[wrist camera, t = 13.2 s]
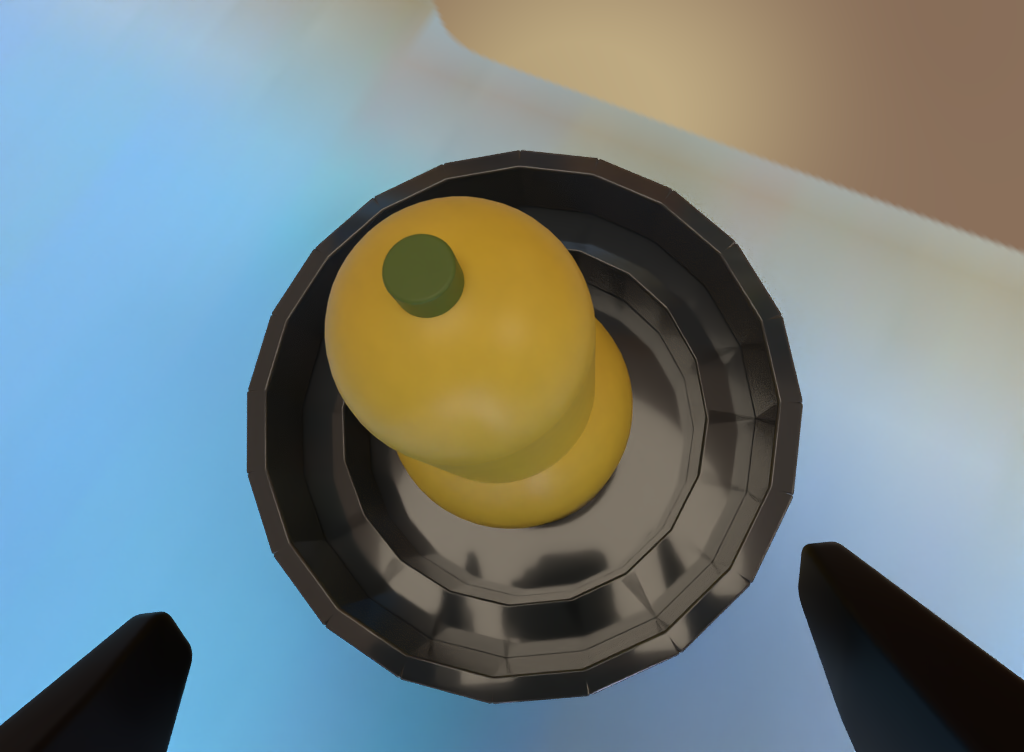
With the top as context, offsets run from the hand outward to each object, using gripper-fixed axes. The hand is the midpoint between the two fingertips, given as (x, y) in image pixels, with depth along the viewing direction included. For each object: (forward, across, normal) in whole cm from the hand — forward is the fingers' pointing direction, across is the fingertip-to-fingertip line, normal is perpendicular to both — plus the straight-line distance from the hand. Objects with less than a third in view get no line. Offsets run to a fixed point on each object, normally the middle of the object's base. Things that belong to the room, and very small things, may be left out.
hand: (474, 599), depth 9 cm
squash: (+11, 0, +5) cm, 12 cm away
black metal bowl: (+12, 0, +5) cm, 13 cm away
